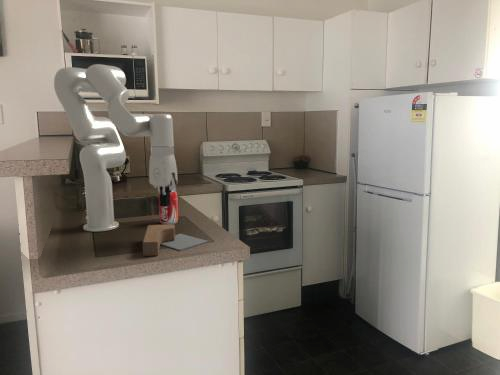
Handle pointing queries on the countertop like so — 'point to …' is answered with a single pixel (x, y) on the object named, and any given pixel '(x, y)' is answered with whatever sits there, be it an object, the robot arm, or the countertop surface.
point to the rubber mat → (183, 242)
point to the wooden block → (157, 238)
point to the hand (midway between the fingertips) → (165, 205)
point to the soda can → (169, 210)
